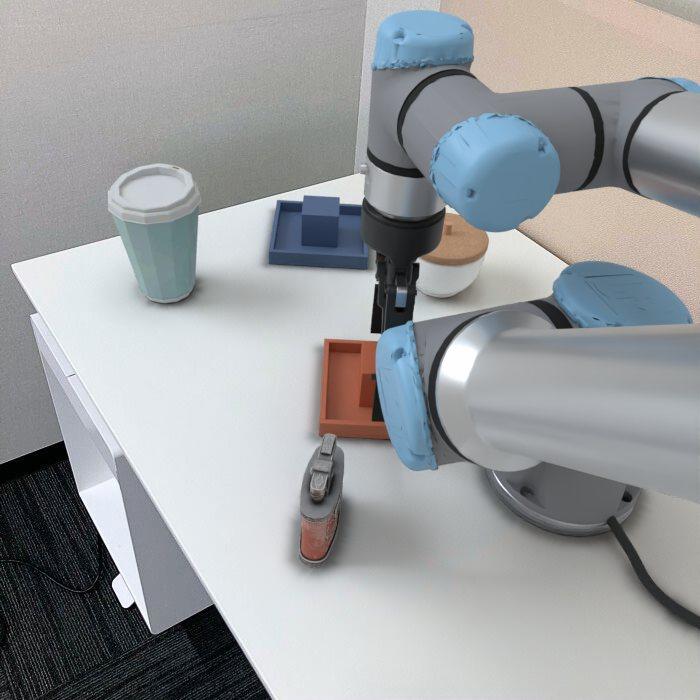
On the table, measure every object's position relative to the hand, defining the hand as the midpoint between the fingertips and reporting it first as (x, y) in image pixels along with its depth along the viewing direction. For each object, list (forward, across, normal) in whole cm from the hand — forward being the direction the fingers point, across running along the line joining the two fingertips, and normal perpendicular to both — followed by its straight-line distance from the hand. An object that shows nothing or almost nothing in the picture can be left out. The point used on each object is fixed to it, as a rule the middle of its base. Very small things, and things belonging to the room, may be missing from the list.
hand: (383, 373), depth 80 cm
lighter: (+3, +18, -6) cm, 19 cm away
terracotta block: (+3, 0, 0) cm, 3 cm away
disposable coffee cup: (+3, -17, -27) cm, 32 cm away
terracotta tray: (+3, 0, 0) cm, 3 cm away
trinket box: (+3, -21, +8) cm, 23 cm away
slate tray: (+3, -30, -8) cm, 31 cm away
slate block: (+3, -30, -8) cm, 31 cm away
